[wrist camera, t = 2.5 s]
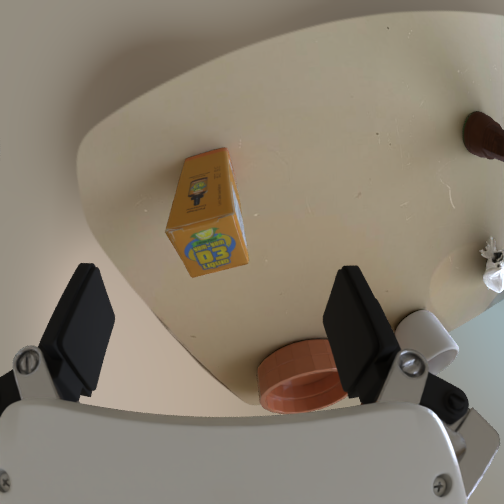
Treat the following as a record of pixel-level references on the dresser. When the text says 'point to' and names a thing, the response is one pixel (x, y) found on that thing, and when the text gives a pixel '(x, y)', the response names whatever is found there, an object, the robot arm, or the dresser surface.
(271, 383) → the bowl
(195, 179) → the supplement box
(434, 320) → the cup
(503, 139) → the chess piece
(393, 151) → the dresser surface
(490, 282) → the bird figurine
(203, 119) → the dresser surface
